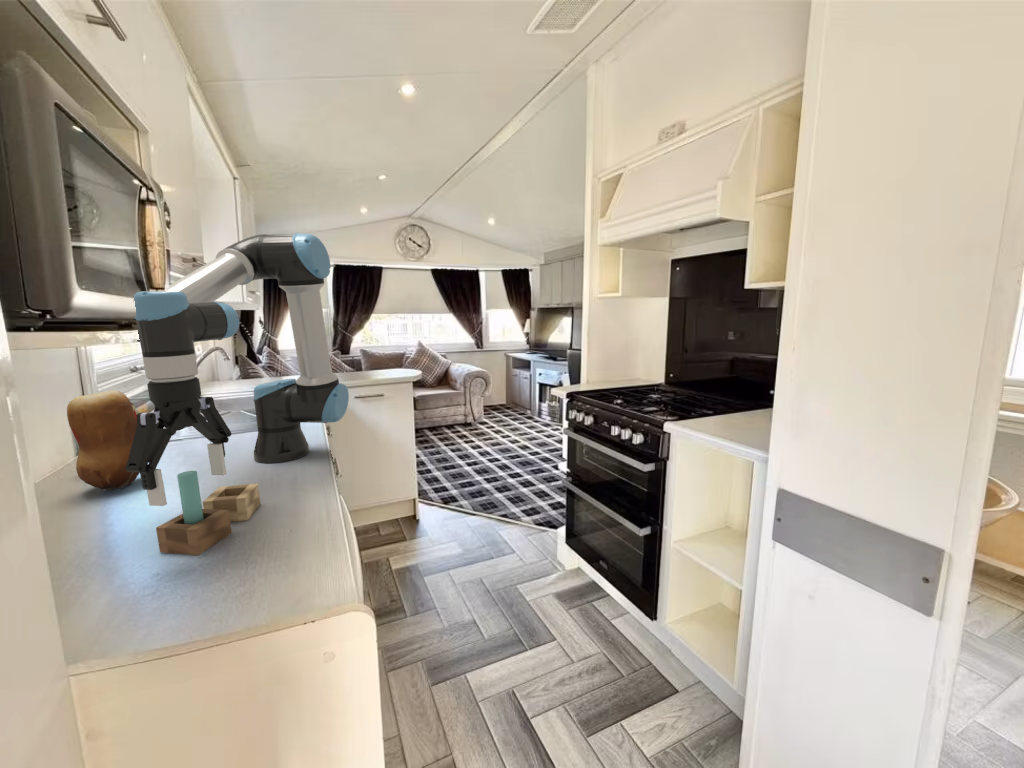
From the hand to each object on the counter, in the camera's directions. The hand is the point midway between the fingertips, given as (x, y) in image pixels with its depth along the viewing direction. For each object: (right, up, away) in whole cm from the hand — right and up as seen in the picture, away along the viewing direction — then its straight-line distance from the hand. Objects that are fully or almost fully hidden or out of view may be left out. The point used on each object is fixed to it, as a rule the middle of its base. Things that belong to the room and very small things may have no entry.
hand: (191, 488), depth 83 cm
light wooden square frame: (0, -9, +13) cm, 16 cm away
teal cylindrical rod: (0, -11, +1) cm, 11 cm away
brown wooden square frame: (0, -11, +1) cm, 11 cm away
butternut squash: (-40, -7, +29) cm, 49 cm away
